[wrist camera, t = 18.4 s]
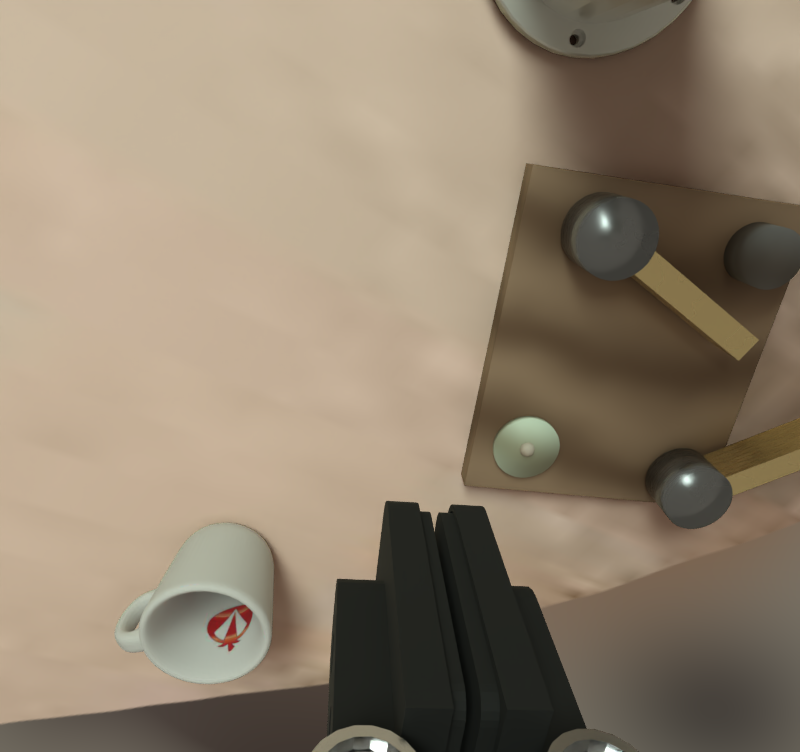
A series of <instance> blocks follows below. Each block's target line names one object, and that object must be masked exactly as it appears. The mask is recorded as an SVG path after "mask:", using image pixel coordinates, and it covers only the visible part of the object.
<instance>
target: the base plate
mask: <svg viewBox="0 0 800 752" xmlns="http://www.w3.org/2000/svg"><path fill="white" fill-rule="evenodd" d="M596 192H610V193H615V194H618V195H622V196H625V197H629V198H632V199H636V200H639V201H641V202H642V203H644V204H645V205H647V206H648V207H649V208H650V209H651V210H652V212H653V213H654V215H655V217H656V219H657V222H658V226H659V240H658V245H657V248H656V252H657V253H658V254H659V255H660V256H662V257H663V258H664V259H665V260H666V261H667V262H669V263H670V264H671V265H672V266H673V267H674V268H676V269H677V270H678V271H679V272H680V273H681V274H683V275H684V276H685V277H686V278H687V279H688V280H690V281H691V282H692V283H693V284H694V285H695V286H697V287H698V288H699V289H700V290H701V291H702V292H704V293H705V294H706V295H707V296H708V297H709V298H711V299H712V300H713V301H714V302H715V303H716V304H718V305H719V306H720V307H721V308H722V309H723V310H725V311H726V312H727V313H728V314H729V315H730V316H732V317H733V318H734V319H735V320H736V321H737V322H739V323H740V324H741V325H742V326H743V327H744V328H746V329H747V330H748V331H749V332H750V333H752V334H753V335H754V336H755V337H756V338H757V339H759V341H758V342H757V343H756V344H755V345H754V346H753V347H752V348H751V349H750V350H749V351H748V352H747V353H746V354H745V355H744V356H743V357H742V358H741V359H740V360H739V361H738V360H736V359H735V358H733V357H732V356H730V355H728V354H727V353H725V352H724V351H722V350H720V349H719V348H717V347H716V346H714V345H713V344H711V343H710V342H709V341H708V340H707V339H705V338H704V337H703V336H702V335H701V334H699V333H698V332H697V331H696V330H694V329H693V328H692V327H691V326H690V325H688V324H687V323H686V322H685V321H684V320H682V319H681V318H680V317H679V316H678V315H676V314H675V313H674V312H673V311H671V310H670V309H669V308H668V307H667V306H665V305H664V304H663V303H662V302H661V301H659V300H658V299H657V298H656V297H654V296H653V295H652V294H651V293H650V292H648V291H647V290H646V289H645V288H644V287H642V286H641V285H640V284H639V283H638V282H636V281H635V280H634V279H633V278H631V277H629V278H626V279H622V280H617V281H608V280H603V279H600V278H598V277H596V276H594V275H592V274H591V273H589V272H588V271H586V270H585V269H583V268H581V267H580V266H578V265H577V264H575V263H574V262H573V261H571V260H570V259H569V257H568V256H567V255H566V253H565V251H564V249H563V247H562V243H561V228H562V224H563V221H564V218H565V216H566V214H567V213H568V211H569V210H570V208H571V207H572V206H573V205H574V204H575V203H576V202H577V201H578V200H580V199H581V198H583V197H585V196H587V195H589V194H592V193H596ZM799 269H800V205H794V204H788V203H781V202H775V201H768V200H762V199H755V198H748V197H742V196H735V195H729V194H722V193H716V192H709V191H703V190H696V189H690V188H683V187H677V186H670V185H664V184H657V183H651V182H644V181H638V180H631V179H625V178H618V177H612V176H605V175H599V174H592V173H586V172H579V171H573V170H566V169H560V168H553V167H547V166H540V165H534V164H527V163H526V167H525V172H524V177H523V182H522V186H521V191H520V196H519V201H518V206H517V210H516V215H515V220H514V225H513V229H512V234H511V239H510V244H509V248H508V253H507V258H506V263H505V267H504V272H503V277H502V282H501V286H500V291H499V296H498V301H497V306H496V310H495V315H494V320H493V325H492V329H491V334H490V339H489V344H488V348H487V353H486V358H485V363H484V367H483V372H482V377H481V382H480V387H479V391H478V396H477V401H476V406H475V410H474V415H473V420H472V425H471V429H470V434H469V439H468V444H467V448H466V453H465V458H464V463H463V467H462V472H461V475H462V478H463V482H464V485H465V486H477V487H488V488H499V489H510V490H522V491H533V492H544V493H555V494H567V495H578V496H589V497H600V498H612V499H623V500H634V501H645V502H656V501H655V500H654V499H653V498H652V496H651V495H650V494H649V492H648V491H647V488H646V483H645V480H646V474H647V471H648V469H649V467H650V466H651V464H652V463H653V462H654V461H655V460H656V459H657V458H658V457H659V456H661V455H662V454H664V453H665V452H668V451H670V450H673V449H677V448H689V449H693V450H696V451H698V452H699V453H700V454H702V455H706V454H709V453H711V452H714V451H716V450H719V449H721V448H724V447H726V444H727V441H728V439H729V436H730V434H731V431H732V428H733V426H734V423H735V421H736V418H737V416H738V413H739V410H740V408H741V405H742V403H743V400H744V397H745V395H746V392H747V390H748V387H749V385H750V382H751V379H752V377H753V374H754V372H755V369H756V366H757V364H758V361H759V359H760V356H761V354H762V351H763V348H764V346H765V343H766V341H767V338H768V335H769V333H770V330H771V328H772V325H773V323H774V320H775V317H776V315H777V312H778V310H779V307H780V304H781V302H782V299H783V297H784V294H785V291H786V289H787V286H788V284H789V281H790V280H791V279H792V278H793V277H794V276H795V275H796V273H797V272H798V270H799Z"/></svg>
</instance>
